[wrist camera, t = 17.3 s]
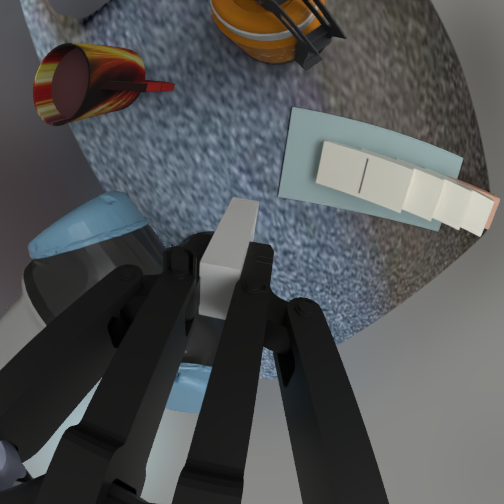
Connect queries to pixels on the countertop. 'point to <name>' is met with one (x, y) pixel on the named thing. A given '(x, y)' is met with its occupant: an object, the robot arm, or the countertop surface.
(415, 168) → the domino
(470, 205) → the domino
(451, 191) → the domino
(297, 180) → the mat
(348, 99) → the countertop surface
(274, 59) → the canister
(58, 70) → the mug
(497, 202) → the end domino
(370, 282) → the countertop surface
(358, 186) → the domino
